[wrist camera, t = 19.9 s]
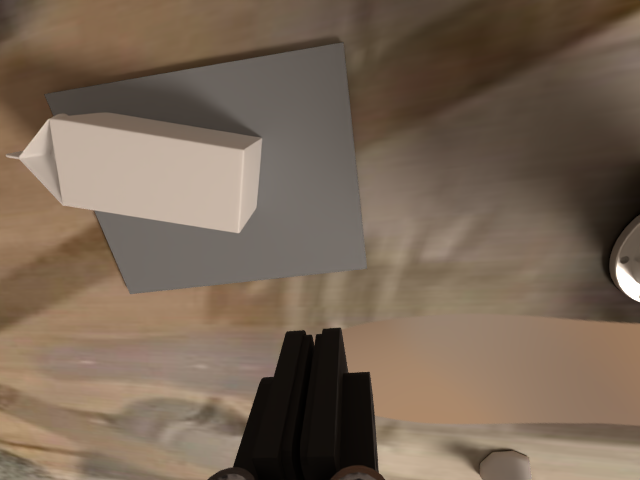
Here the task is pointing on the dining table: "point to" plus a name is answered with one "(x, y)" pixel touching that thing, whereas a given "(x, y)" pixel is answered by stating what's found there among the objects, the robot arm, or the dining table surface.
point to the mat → (274, 179)
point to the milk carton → (148, 169)
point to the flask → (505, 466)
